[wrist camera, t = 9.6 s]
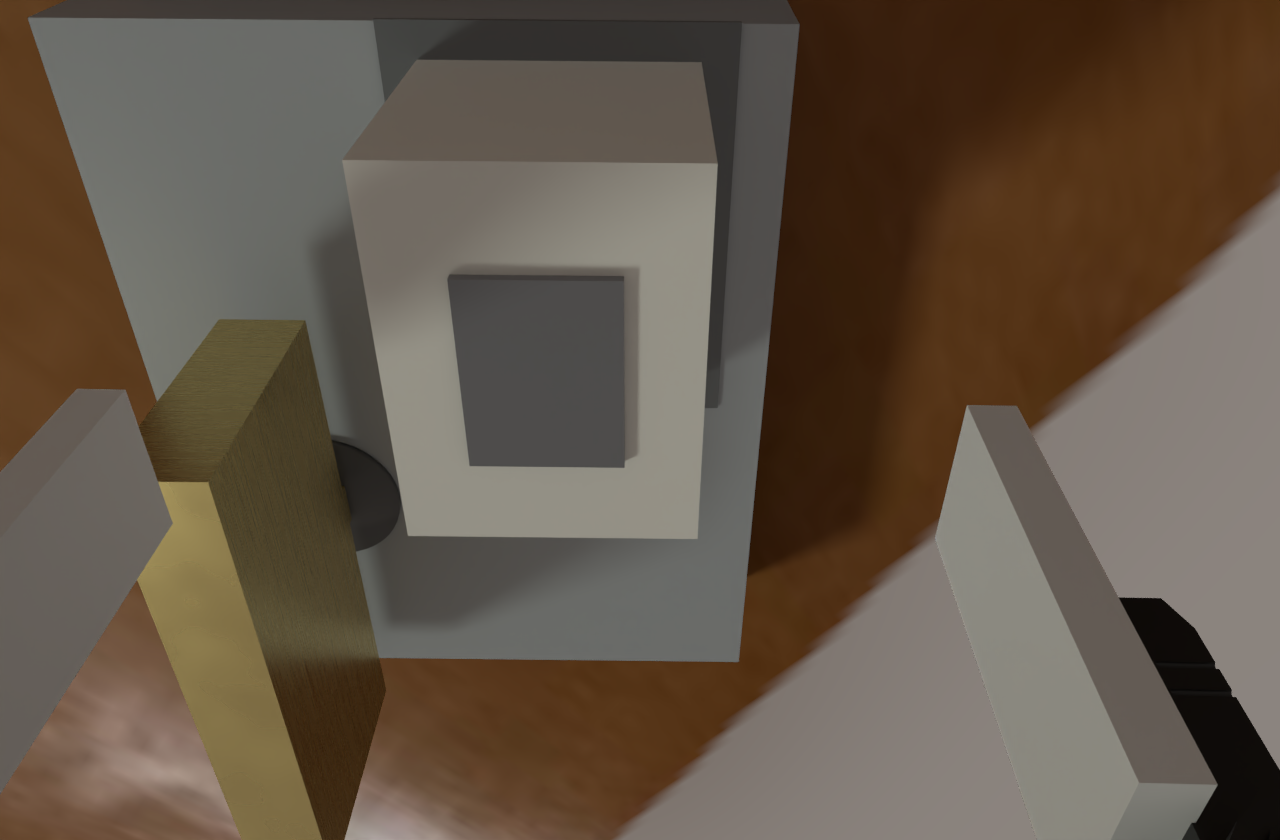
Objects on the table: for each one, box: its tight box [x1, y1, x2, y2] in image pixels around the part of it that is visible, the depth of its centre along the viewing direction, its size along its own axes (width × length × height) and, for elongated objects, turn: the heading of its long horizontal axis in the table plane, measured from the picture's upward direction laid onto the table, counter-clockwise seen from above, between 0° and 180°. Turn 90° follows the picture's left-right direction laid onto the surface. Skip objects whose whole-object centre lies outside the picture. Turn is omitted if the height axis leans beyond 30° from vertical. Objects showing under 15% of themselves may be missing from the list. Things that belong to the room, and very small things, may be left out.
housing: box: [28, 0, 800, 662], centre depth 27 cm, size 16×20×4 cm
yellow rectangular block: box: [137, 319, 386, 840], centre depth 24 cm, size 13×2×7 cm, turn 0°
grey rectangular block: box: [342, 60, 718, 539], centre depth 20 cm, size 6×8×6 cm
